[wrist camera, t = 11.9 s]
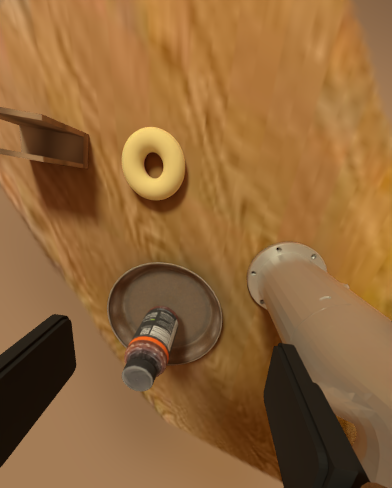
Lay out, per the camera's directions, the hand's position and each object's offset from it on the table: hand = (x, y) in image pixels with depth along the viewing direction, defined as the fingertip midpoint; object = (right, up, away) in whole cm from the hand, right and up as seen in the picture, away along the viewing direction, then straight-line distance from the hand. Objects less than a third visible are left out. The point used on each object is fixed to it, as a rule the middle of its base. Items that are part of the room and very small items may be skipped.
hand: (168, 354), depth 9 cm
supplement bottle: (-4, -8, +26) cm, 27 cm away
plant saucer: (-4, -7, +29) cm, 30 cm away
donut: (-5, +17, +22) cm, 28 cm away
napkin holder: (-20, +20, +22) cm, 36 cm away
